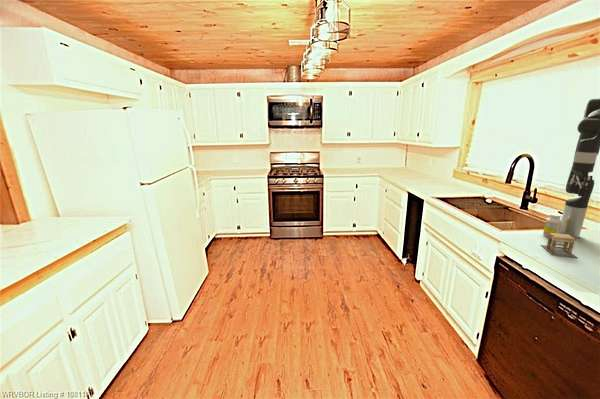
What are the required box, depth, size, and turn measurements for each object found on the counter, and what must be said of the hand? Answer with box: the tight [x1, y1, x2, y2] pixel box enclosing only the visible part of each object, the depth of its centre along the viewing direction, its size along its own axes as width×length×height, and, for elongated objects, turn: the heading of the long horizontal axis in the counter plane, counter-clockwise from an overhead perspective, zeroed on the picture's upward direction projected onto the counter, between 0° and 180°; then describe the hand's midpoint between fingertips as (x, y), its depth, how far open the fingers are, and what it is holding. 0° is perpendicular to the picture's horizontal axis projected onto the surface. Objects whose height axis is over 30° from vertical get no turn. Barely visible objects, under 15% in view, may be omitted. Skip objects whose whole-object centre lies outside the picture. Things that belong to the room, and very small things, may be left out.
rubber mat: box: [540, 244, 578, 259], centre depth 145 cm, size 12×10×1 cm
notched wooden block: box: [546, 233, 576, 254], centre depth 144 cm, size 5×8×8 cm
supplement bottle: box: [542, 212, 562, 238], centre depth 163 cm, size 7×7×13 cm
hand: (575, 194), depth 144 cm, fingers open, 8 cm apart
